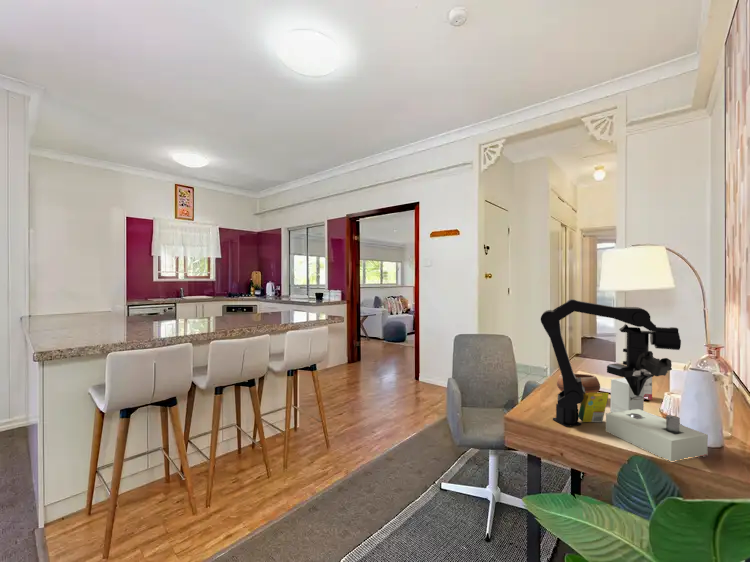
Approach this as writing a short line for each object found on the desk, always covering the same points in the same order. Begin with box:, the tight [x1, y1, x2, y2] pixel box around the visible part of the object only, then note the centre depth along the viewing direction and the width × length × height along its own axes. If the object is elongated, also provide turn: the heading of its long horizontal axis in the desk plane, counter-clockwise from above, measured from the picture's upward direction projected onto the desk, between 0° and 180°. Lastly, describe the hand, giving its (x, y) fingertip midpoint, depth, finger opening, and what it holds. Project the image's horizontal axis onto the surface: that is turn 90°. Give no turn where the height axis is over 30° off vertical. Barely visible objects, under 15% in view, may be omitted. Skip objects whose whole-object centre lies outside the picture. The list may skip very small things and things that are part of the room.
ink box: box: [623, 373, 653, 401], centre depth 149 cm, size 9×5×12 cm, turn 84°
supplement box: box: [609, 377, 645, 413], centre depth 130 cm, size 7×7×13 cm
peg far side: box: [665, 414, 681, 434], centre depth 103 cm, size 3×3×6 cm
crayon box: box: [578, 392, 610, 423], centre depth 123 cm, size 7×3×12 cm, turn 93°
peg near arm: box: [630, 413, 642, 419], centre depth 114 cm, size 3×3×6 cm
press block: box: [605, 409, 709, 461], centre depth 109 cm, size 14×20×6 cm
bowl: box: [556, 372, 601, 393], centre depth 149 cm, size 16×16×10 cm
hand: (636, 395), depth 114 cm, fingers closed
